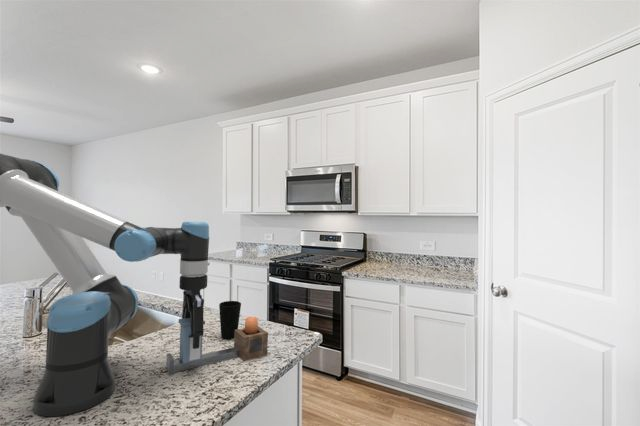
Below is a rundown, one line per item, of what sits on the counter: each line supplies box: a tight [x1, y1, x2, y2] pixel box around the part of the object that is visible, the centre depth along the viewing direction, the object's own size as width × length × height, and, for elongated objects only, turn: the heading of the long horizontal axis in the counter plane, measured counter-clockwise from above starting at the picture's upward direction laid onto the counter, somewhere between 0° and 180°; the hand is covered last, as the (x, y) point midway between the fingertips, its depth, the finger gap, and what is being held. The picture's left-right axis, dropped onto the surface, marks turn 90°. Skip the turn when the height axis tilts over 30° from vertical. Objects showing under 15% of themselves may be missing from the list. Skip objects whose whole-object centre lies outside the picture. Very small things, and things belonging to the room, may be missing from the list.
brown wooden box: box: [233, 325, 269, 362], centre depth 100 cm, size 8×8×7 cm
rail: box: [165, 346, 240, 376], centre depth 93 cm, size 21×5×4 cm, turn 126°
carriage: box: [178, 318, 206, 363], centre depth 91 cm, size 6×6×11 cm
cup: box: [218, 300, 242, 341], centre depth 113 cm, size 8×8×12 cm
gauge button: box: [244, 316, 259, 334], centre depth 100 cm, size 4×4×4 cm
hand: (190, 353), depth 91 cm, fingers open, 8 cm apart
